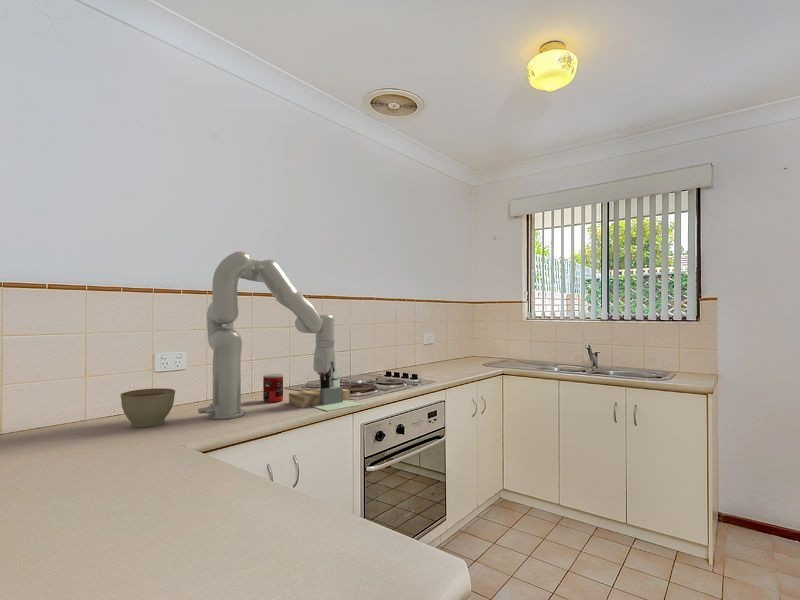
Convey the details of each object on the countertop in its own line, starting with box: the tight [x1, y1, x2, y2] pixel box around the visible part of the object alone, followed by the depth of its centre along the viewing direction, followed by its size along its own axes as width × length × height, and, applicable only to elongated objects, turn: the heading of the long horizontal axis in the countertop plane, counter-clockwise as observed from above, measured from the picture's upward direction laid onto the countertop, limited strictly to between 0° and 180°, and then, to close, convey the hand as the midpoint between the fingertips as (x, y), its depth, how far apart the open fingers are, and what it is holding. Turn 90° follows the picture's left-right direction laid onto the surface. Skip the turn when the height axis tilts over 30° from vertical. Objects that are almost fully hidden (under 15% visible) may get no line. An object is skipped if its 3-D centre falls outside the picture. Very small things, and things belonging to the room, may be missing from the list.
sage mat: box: [311, 400, 362, 412], centre depth 176 cm, size 16×11×1 cm
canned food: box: [262, 373, 284, 404], centre depth 187 cm, size 8×8×11 cm
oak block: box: [288, 387, 351, 408], centre depth 186 cm, size 22×12×4 cm, turn 132°
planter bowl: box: [120, 387, 176, 428], centre depth 150 cm, size 16×16×11 cm
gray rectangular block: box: [319, 386, 344, 405], centre depth 180 cm, size 9×6×3 cm
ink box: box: [319, 366, 341, 389], centre depth 205 cm, size 9×5×12 cm, turn 58°
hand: (325, 389), depth 183 cm, fingers closed
